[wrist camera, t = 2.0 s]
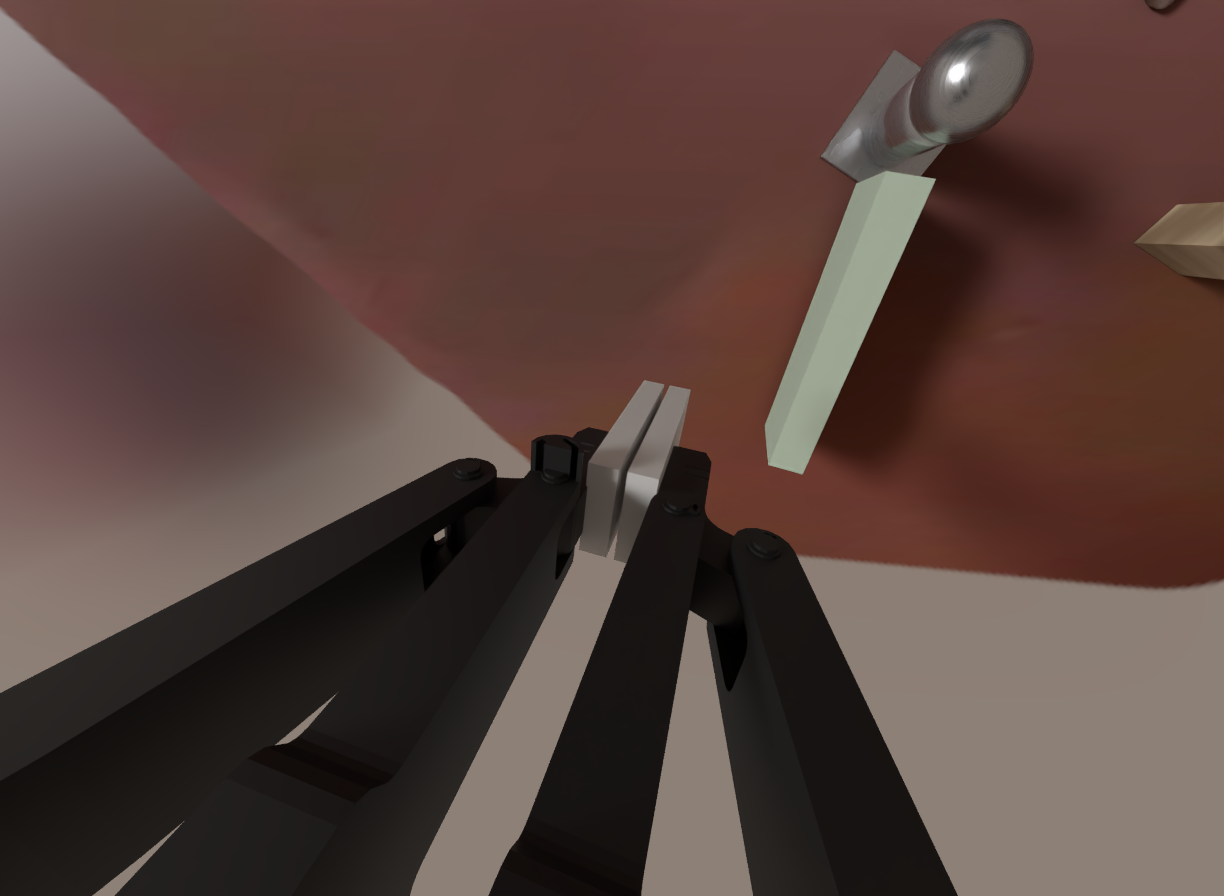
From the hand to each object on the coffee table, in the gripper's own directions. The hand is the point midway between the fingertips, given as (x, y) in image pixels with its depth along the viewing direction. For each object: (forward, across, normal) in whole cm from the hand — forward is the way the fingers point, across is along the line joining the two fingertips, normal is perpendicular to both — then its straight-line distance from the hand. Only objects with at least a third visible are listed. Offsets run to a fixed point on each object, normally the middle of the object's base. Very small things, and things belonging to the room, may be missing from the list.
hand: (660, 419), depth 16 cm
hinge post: (+16, +8, +12) cm, 22 cm away
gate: (+15, +7, +2) cm, 17 cm away
